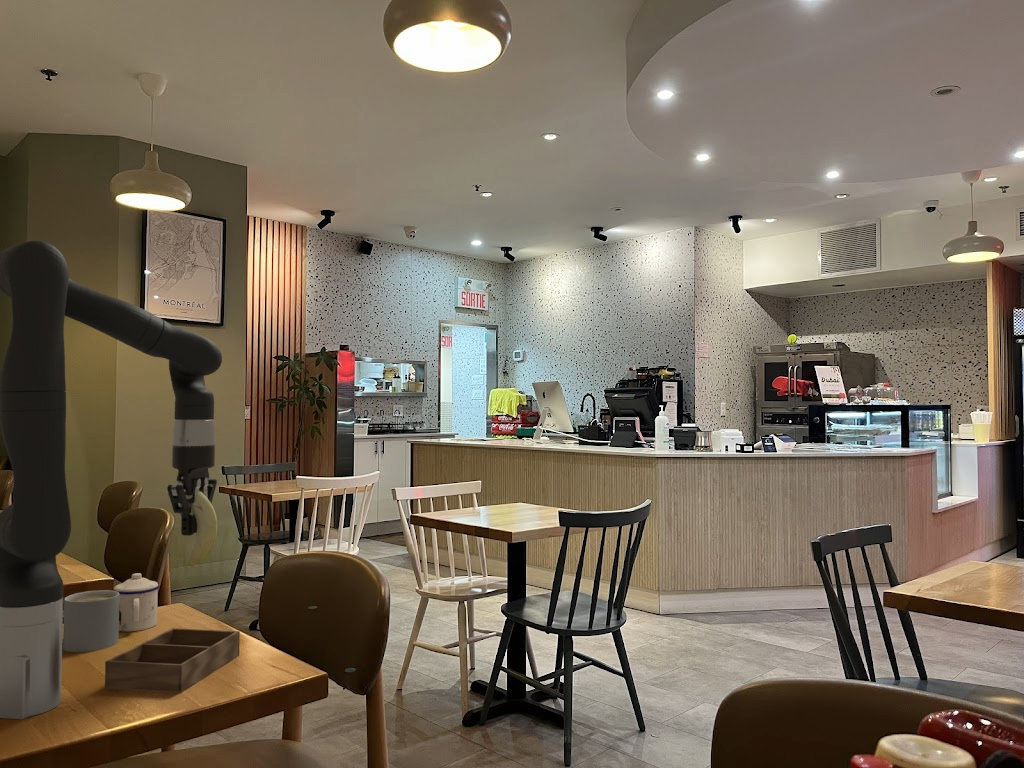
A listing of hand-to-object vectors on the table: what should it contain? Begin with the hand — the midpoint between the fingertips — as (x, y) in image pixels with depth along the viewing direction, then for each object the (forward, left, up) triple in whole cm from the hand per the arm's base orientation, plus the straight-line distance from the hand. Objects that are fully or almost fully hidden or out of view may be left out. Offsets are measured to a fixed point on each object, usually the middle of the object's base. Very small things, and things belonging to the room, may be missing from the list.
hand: (192, 533), depth 144 cm
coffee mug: (+9, +28, -25) cm, 39 cm away
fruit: (0, 0, -6) cm, 6 cm away
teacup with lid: (+20, +25, -25) cm, 41 cm away
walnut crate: (-5, 0, -25) cm, 25 cm away
